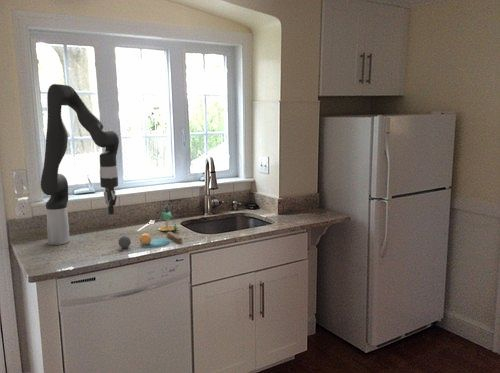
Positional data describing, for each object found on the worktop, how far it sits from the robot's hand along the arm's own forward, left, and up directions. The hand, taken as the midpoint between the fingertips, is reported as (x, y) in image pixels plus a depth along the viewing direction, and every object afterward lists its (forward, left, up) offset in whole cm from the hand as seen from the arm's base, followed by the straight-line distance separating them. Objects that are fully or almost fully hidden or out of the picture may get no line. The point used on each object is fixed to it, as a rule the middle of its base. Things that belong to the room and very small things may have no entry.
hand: (111, 214), depth 199 cm
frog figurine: (+28, +27, -17) cm, 43 cm away
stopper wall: (+29, +8, -17) cm, 34 cm away
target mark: (+19, +5, -17) cm, 26 cm away
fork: (+17, +39, -18) cm, 46 cm away
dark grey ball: (+5, +2, -14) cm, 15 cm away
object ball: (+15, +4, -14) cm, 21 cm away
